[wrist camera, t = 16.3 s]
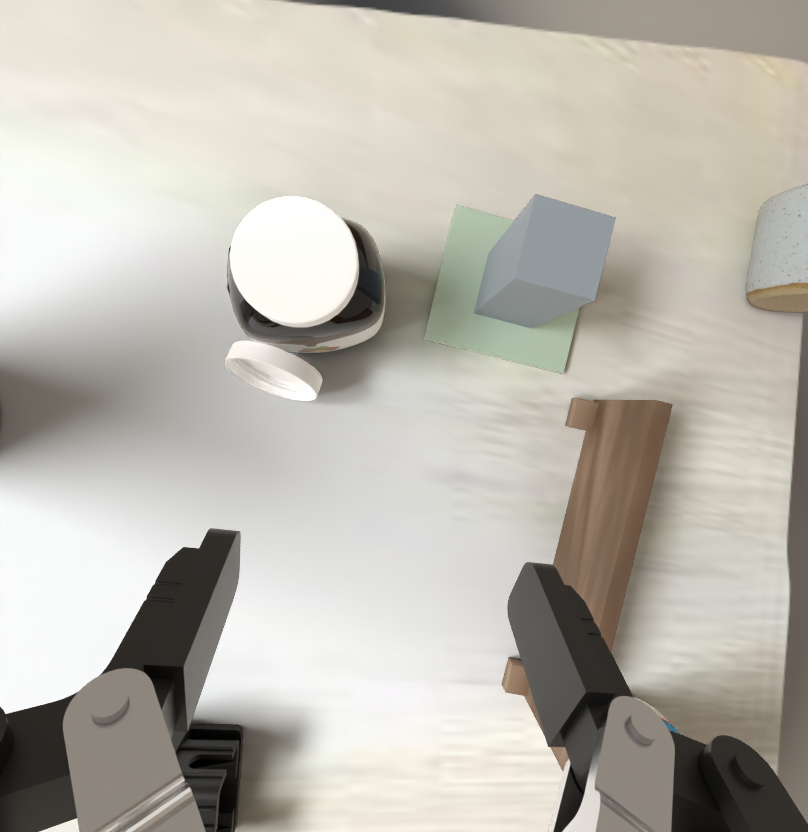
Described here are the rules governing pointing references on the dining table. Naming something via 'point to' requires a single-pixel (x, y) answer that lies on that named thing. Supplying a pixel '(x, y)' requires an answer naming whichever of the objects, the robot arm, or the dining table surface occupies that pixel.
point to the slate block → (545, 263)
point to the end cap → (212, 771)
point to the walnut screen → (603, 513)
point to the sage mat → (460, 292)
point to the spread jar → (300, 292)
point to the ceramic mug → (780, 254)
